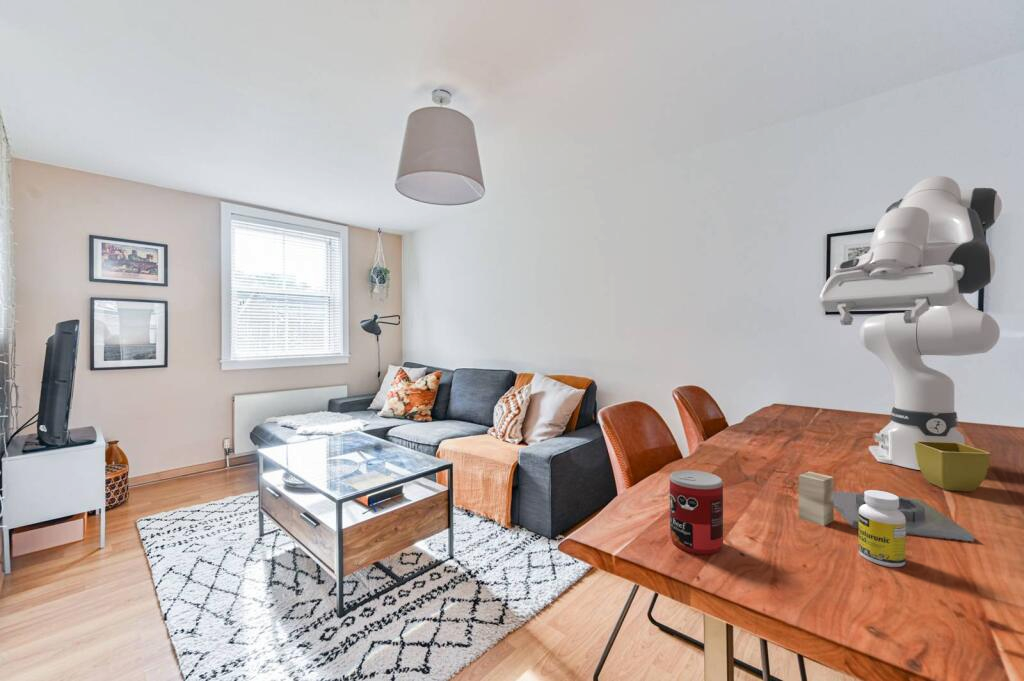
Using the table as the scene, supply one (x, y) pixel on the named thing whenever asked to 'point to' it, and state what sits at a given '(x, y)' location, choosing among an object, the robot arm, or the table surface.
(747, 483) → the table surface
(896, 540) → the supplement bottle
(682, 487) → the canned food
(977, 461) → the flower pot
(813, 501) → the birch block
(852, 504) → the grey square socket board
